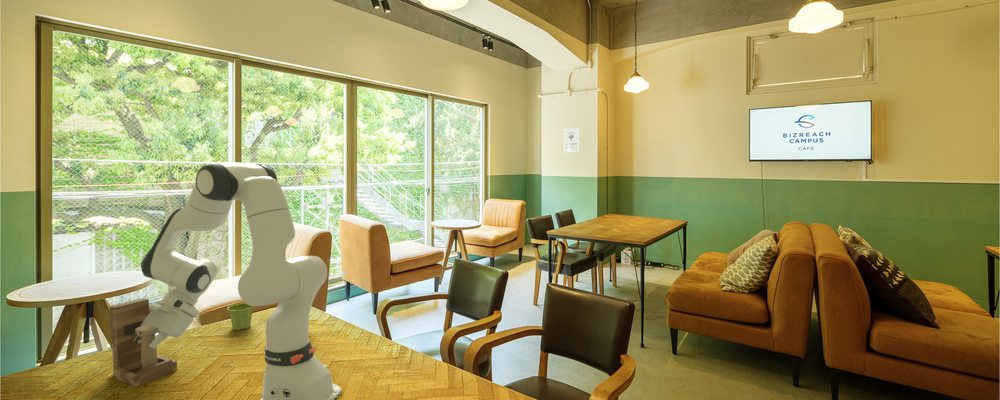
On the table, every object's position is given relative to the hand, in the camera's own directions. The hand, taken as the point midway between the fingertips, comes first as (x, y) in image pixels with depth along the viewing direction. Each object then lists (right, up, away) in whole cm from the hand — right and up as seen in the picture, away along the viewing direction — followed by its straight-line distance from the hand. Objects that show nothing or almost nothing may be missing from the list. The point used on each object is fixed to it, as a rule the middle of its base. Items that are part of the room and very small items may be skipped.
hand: (143, 345), depth 133 cm
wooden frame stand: (-2, -10, +2) cm, 10 cm away
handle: (+1, -10, +2) cm, 10 cm away
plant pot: (+6, -7, +40) cm, 41 cm away
